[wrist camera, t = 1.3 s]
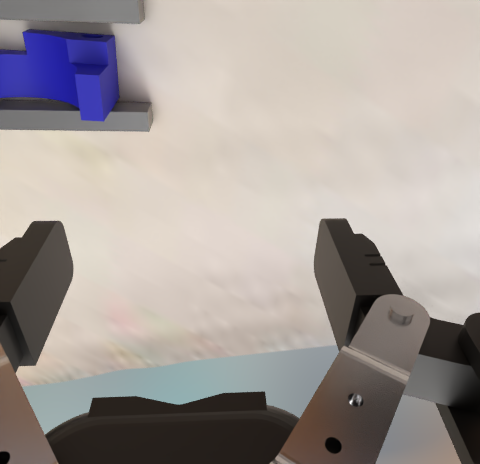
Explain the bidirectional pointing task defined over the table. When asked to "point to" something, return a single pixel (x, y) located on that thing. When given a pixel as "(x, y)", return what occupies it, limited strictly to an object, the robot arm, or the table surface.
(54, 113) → the grey u-shaped bracket
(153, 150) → the table surface
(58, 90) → the blue u-shaped block
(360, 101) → the table surface
